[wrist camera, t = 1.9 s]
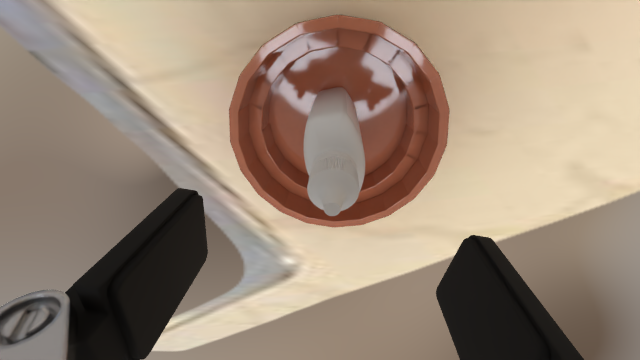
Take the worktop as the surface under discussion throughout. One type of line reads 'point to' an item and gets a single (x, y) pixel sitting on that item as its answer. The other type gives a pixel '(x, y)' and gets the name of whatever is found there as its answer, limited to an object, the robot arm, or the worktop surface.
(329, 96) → the eye dropper bottle
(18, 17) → the worktop surface
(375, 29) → the bowl
